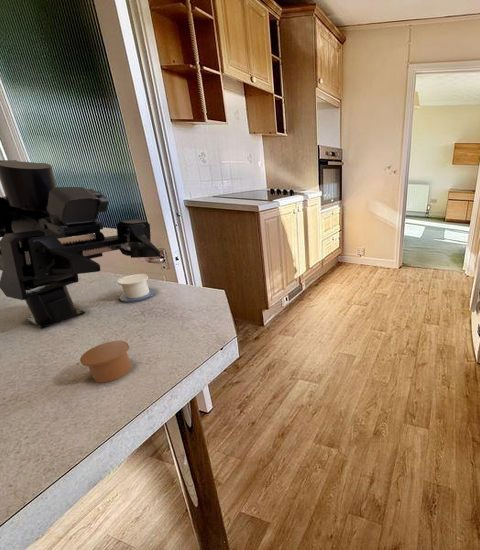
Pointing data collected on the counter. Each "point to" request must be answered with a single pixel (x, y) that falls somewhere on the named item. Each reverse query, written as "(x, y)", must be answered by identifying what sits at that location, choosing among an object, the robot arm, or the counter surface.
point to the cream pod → (134, 285)
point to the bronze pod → (107, 361)
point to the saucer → (150, 294)
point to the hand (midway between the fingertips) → (131, 260)
